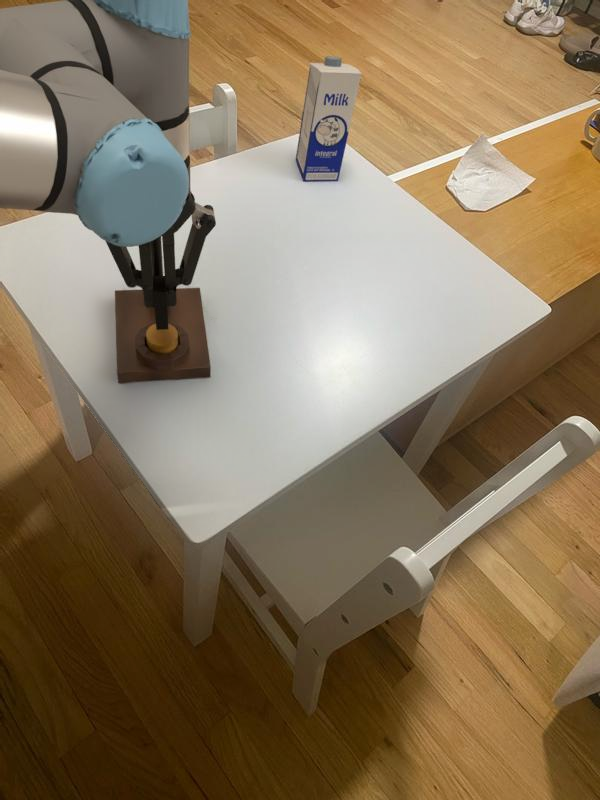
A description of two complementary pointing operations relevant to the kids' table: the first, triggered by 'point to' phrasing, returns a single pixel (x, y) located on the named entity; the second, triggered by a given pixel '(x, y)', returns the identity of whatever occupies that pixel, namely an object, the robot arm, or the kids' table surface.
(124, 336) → the lamp base
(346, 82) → the milk carton
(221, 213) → the kids' table surface
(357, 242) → the kids' table surface
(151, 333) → the lamp switch
